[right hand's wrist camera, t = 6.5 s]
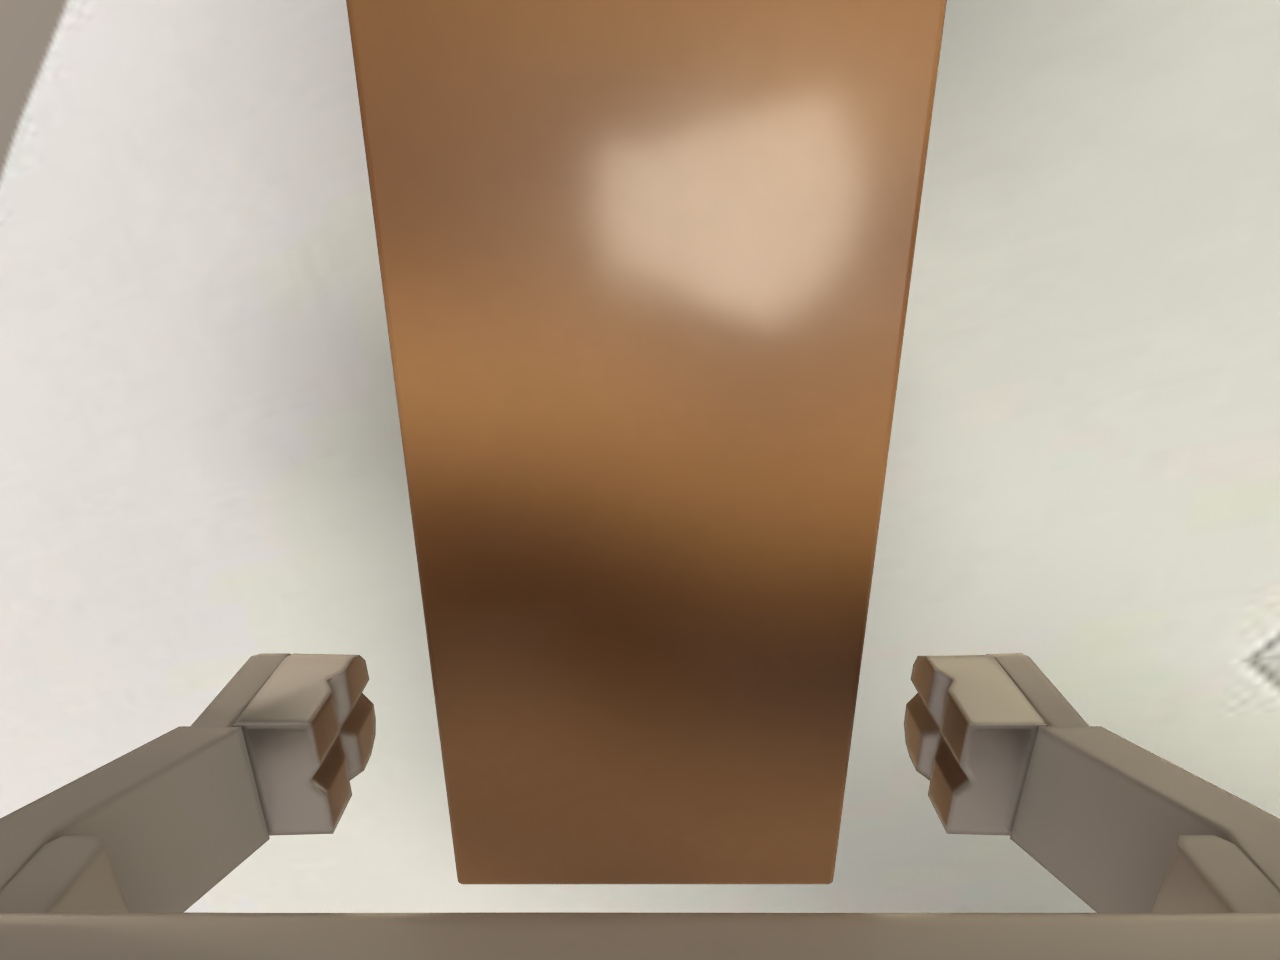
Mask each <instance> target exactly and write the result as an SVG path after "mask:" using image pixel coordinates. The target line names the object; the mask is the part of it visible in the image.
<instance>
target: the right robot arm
mask: <svg viewBox="0 0 1280 960" xmlns="http://www.w3.org/2000/svg"><path fill="white" fill-rule="evenodd" d="M368 681H369V676H368V671H367V666H366V662H365V660H364V659H363V658H362V657H361V656H360V655H333V654H258V655H255V656H252V657H250V658H249V659H248V661H247V662H246V663H245V664H244V665H243V666H242V668H241V669H240V670H239V671H238V672H237V673H236V675H235V676H234V677H233V678H232V679H231V680H230V681H229V683H228V684H227V685H226V686H225V687H224V688H223V690H222V691H221V692H220V693H219V694H218V695H217V696H216V698H215V699H214V700H213V701H212V702H211V703H210V705H209V706H208V707H207V708H206V709H205V710H204V711H203V713H202V714H201V715H200V716H199V717H198V718H197V720H196V721H195V722H194V723H193V724H192V725H191V727H178V728H176V729H174V730H172V731H170V732H168V733H166V734H164V735H162V736H160V737H158V738H156V739H154V740H152V741H150V742H148V743H147V744H145V745H143V746H141V747H139V748H137V749H135V750H133V751H131V752H129V753H127V754H125V755H123V756H121V757H119V758H117V759H115V760H114V761H112V762H110V763H108V764H106V765H104V766H102V767H100V768H98V769H96V770H94V771H92V772H90V773H88V774H86V775H84V776H82V777H80V778H79V779H77V780H75V781H73V782H71V783H69V784H67V785H65V786H63V787H61V788H59V789H57V790H55V791H53V792H51V793H49V794H47V795H46V796H44V797H42V798H40V799H38V800H36V801H34V802H32V803H30V804H28V805H26V806H24V807H22V808H20V809H18V810H16V811H14V812H12V813H11V814H9V815H7V816H5V817H3V818H1V819H0V960H1280V819H1279V818H1277V817H1275V816H1273V815H1271V814H1269V813H1267V812H1265V811H1263V810H1261V809H1259V808H1257V807H1255V806H1253V805H1252V804H1250V803H1248V802H1246V801H1244V800H1242V799H1240V798H1238V797H1236V796H1234V795H1232V794H1230V793H1228V792H1226V791H1224V790H1222V789H1221V788H1219V787H1217V786H1215V785H1213V784H1211V783H1209V782H1207V781H1205V780H1203V779H1201V778H1199V777H1197V776H1195V775H1193V774H1191V773H1190V772H1188V771H1186V770H1184V769H1182V768H1180V767H1178V766H1176V765H1174V764H1172V763H1170V762H1168V761H1166V760H1164V759H1162V758H1160V757H1159V756H1157V755H1155V754H1153V753H1151V752H1149V751H1147V750H1145V749H1143V748H1141V747H1139V746H1137V745H1135V744H1133V743H1131V742H1129V741H1128V740H1126V739H1124V738H1122V737H1120V736H1118V735H1116V734H1114V733H1112V732H1110V731H1108V730H1106V729H1104V728H1102V727H1089V725H1088V724H1087V723H1086V722H1085V721H1084V720H1083V718H1082V717H1081V716H1080V715H1079V714H1078V713H1077V712H1076V710H1075V709H1074V708H1073V707H1072V706H1071V705H1070V703H1069V702H1068V701H1067V700H1066V699H1065V698H1064V697H1063V695H1062V694H1061V693H1060V692H1059V691H1058V690H1057V688H1056V687H1055V686H1054V685H1053V684H1052V683H1051V681H1050V680H1049V679H1048V678H1047V677H1046V676H1045V675H1044V673H1043V672H1042V671H1041V670H1040V669H1039V668H1038V666H1037V665H1036V664H1035V663H1034V662H1033V661H1032V660H1031V658H1030V657H1028V656H1026V655H1024V654H1022V653H1008V654H987V655H950V656H918V657H917V659H916V661H915V663H914V665H913V670H912V675H911V681H912V682H913V684H914V686H915V688H916V690H917V691H918V693H917V694H916V695H915V696H914V697H913V698H912V699H911V700H910V701H909V702H908V703H907V705H906V712H905V720H904V728H905V740H906V745H907V749H908V752H909V756H910V758H911V761H912V763H913V765H914V767H915V769H916V771H918V772H919V773H920V774H922V775H923V776H925V777H926V778H927V779H929V780H930V786H929V792H928V796H929V798H930V800H931V802H932V804H933V806H934V808H935V810H936V812H937V814H938V816H939V818H940V820H941V822H942V824H943V826H944V828H945V830H946V832H947V834H979V835H1011V837H1010V839H1012V840H1013V841H1014V842H1015V843H1016V844H1017V845H1019V846H1020V847H1021V848H1022V849H1023V850H1024V851H1026V852H1027V853H1028V854H1029V855H1030V856H1031V857H1033V858H1034V859H1035V860H1036V861H1037V862H1038V863H1040V864H1041V865H1042V866H1043V867H1044V868H1045V869H1047V870H1048V871H1049V872H1050V873H1051V874H1052V875H1054V876H1055V877H1056V878H1057V879H1058V880H1059V881H1061V882H1062V883H1063V884H1064V885H1065V886H1067V887H1068V888H1069V889H1070V890H1071V891H1072V892H1074V893H1075V894H1076V895H1077V896H1078V897H1079V898H1081V899H1082V900H1083V901H1084V902H1085V903H1086V904H1088V905H1089V906H1090V907H1091V908H1092V909H1093V910H1095V911H1096V912H1097V913H183V912H184V911H186V910H187V909H188V908H189V907H190V906H191V905H193V904H194V903H195V902H196V901H197V900H198V899H200V898H201V897H202V896H203V895H204V894H206V893H207V892H208V891H209V890H210V889H211V888H213V887H214V886H215V885H216V884H217V883H218V882H220V881H221V880H222V879H223V878H224V877H225V876H227V875H228V874H229V873H230V872H231V871H232V870H234V869H235V868H236V867H237V866H238V865H239V864H241V863H242V862H243V861H244V860H245V859H247V858H248V857H249V856H250V855H251V854H252V853H254V852H255V851H256V850H257V849H258V848H259V847H261V846H262V845H263V844H264V843H265V842H266V841H268V840H269V835H300V834H333V833H334V830H335V828H336V826H337V824H338V822H339V820H340V818H341V816H342V814H343V812H344V810H345V808H346V806H347V804H348V802H349V800H350V798H351V796H352V792H351V786H350V780H351V779H353V778H354V777H355V776H357V775H358V774H360V773H361V772H362V771H364V769H365V767H366V765H367V763H368V760H369V758H370V756H371V753H372V748H373V744H374V739H375V730H376V718H375V711H374V705H373V703H372V702H371V701H370V700H369V699H368V698H367V697H366V696H365V695H364V694H363V693H362V691H363V690H364V688H365V686H366V684H367V682H368Z"/></svg>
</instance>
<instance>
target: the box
mask: <svg viewBox="0 0 1280 960" xmlns="http://www.w3.org/2000/svg"><path fill="white" fill-rule="evenodd" d="M346 2H347V10H348V18H349V26H350V34H351V42H352V49H353V57H354V65H355V73H356V81H357V89H358V97H359V105H360V112H361V120H362V128H363V136H364V144H365V152H366V160H367V168H368V176H369V183H370V191H371V199H372V207H373V215H374V223H375V231H376V239H377V247H378V254H379V262H380V270H381V278H382V286H383V294H384V302H385V310H386V318H387V325H388V333H389V341H390V349H391V357H392V365H393V373H394V381H395V389H396V396H397V404H398V412H399V420H400V428H401V436H402V444H403V452H404V460H405V467H406V475H407V483H408V491H409V499H410V507H411V515H412V523H413V531H414V538H415V546H416V554H417V562H418V570H419V578H420V586H421V594H422V602H423V609H424V617H425V625H426V633H427V641H428V649H429V657H430V665H431V672H432V680H433V688H434V696H435V704H436V712H437V720H438V728H439V736H440V743H441V751H442V759H443V767H444V775H445V783H446V791H447V799H448V807H449V814H450V822H451V830H452V838H453V846H454V854H455V862H456V870H457V878H458V882H459V883H461V884H830V883H832V881H833V876H834V869H835V861H836V853H837V845H838V838H839V830H840V822H841V814H842V807H843V799H844V791H845V783H846V776H847V768H848V760H849V752H850V745H851V737H852V729H853V722H854V714H855V706H856V698H857V691H858V683H859V675H860V667H861V660H862V652H863V644H864V636H865V629H866V621H867V613H868V605H869V598H870V590H871V582H872V574H873V567H874V559H875V551H876V544H877V536H878V528H879V520H880V513H881V505H882V497H883V489H884V482H885V474H886V466H887V458H888V451H889V443H890V435H891V427H892V420H893V412H894V404H895V397H896V389H897V381H898V373H899V366H900V358H901V350H902V342H903V335H904V327H905V319H906V311H907V304H908V296H909V288H910V280H911V273H912V265H913V257H914V250H915V242H916V234H917V226H918V219H919V211H920V203H921V195H922V188H923V180H924V172H925V164H926V157H927V149H928V141H929V133H930V126H931V118H932V110H933V103H934V95H935V87H936V79H937V72H938V64H939V56H940V48H941V41H942V33H943V25H944V17H945V10H946V2H947V0H346Z"/></svg>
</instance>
